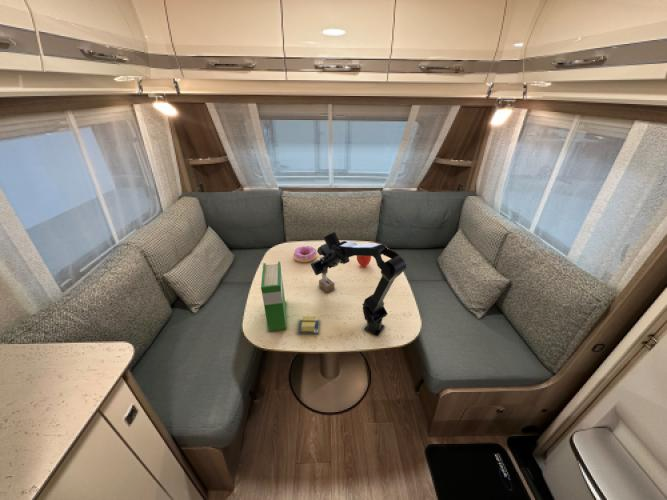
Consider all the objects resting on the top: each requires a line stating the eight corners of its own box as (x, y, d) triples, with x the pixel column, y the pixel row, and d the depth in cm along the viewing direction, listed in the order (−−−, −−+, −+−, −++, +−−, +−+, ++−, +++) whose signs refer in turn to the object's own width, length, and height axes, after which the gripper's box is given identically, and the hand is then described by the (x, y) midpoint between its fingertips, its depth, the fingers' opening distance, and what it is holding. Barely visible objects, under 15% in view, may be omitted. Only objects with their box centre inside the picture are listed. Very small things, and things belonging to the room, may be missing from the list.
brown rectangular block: (334, 289, 140) (334, 283, 138) (326, 292, 138) (326, 286, 136) (326, 282, 145) (326, 276, 143) (319, 286, 143) (318, 280, 141)
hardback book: (270, 304, 131) (263, 263, 119) (285, 302, 132) (280, 261, 120) (268, 331, 116) (260, 287, 104) (285, 329, 117) (280, 285, 105)
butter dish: (319, 321, 120) (318, 315, 119) (317, 333, 114) (317, 327, 112) (300, 321, 121) (300, 315, 119) (298, 333, 114) (297, 327, 113)
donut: (292, 253, 172) (291, 246, 169) (313, 250, 176) (313, 243, 173) (296, 265, 160) (295, 258, 158) (319, 261, 164) (319, 254, 161)
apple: (361, 260, 164) (362, 245, 159) (373, 265, 160) (374, 250, 154) (353, 266, 159) (354, 251, 153) (365, 272, 154) (366, 256, 148)
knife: (328, 281, 137) (327, 258, 130) (324, 283, 136) (323, 260, 129) (324, 278, 139) (323, 256, 132) (320, 280, 138) (319, 257, 131)
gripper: (343, 235, 128) (329, 247, 140) (311, 248, 117) (299, 259, 130) (354, 256, 126) (338, 265, 139) (323, 270, 116) (309, 279, 129)
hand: (322, 267), depth 134 cm, fingers closed on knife, 2 cm apart
